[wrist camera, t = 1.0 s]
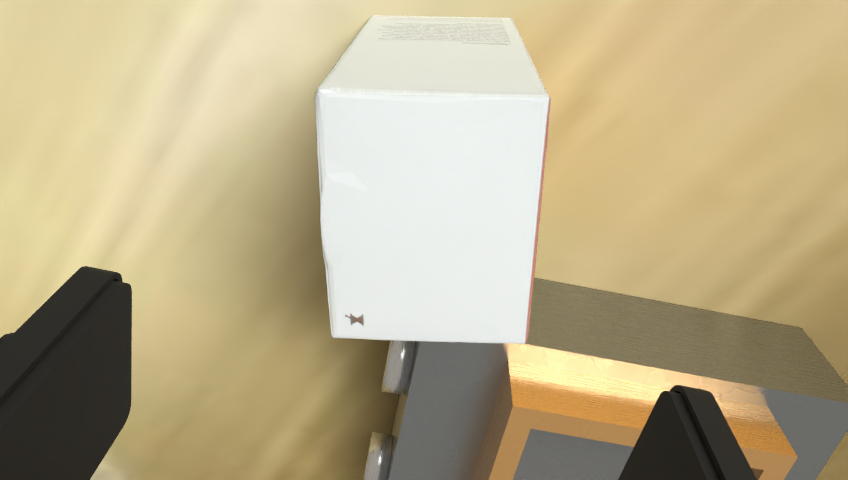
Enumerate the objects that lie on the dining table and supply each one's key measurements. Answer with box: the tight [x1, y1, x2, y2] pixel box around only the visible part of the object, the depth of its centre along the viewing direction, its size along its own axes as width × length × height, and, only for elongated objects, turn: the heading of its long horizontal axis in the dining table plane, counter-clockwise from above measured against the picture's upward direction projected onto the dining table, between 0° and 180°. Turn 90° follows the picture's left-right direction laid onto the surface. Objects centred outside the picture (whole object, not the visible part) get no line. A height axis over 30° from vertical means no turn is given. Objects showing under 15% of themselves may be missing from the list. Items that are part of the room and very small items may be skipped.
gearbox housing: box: [363, 278, 848, 480], centre depth 34 cm, size 21×16×9 cm
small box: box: [315, 15, 551, 344], centre depth 24 cm, size 8×6×13 cm
